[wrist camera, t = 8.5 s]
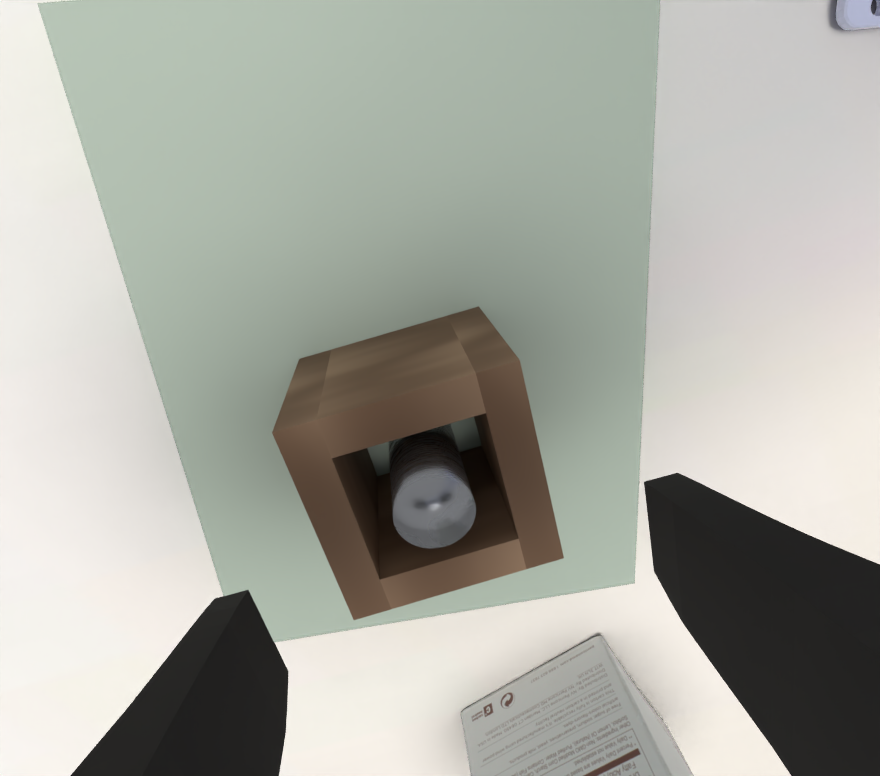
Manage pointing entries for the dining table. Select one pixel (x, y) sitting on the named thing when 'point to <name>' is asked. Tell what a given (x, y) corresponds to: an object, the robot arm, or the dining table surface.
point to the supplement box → (571, 723)
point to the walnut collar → (403, 414)
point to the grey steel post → (430, 488)
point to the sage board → (376, 241)
